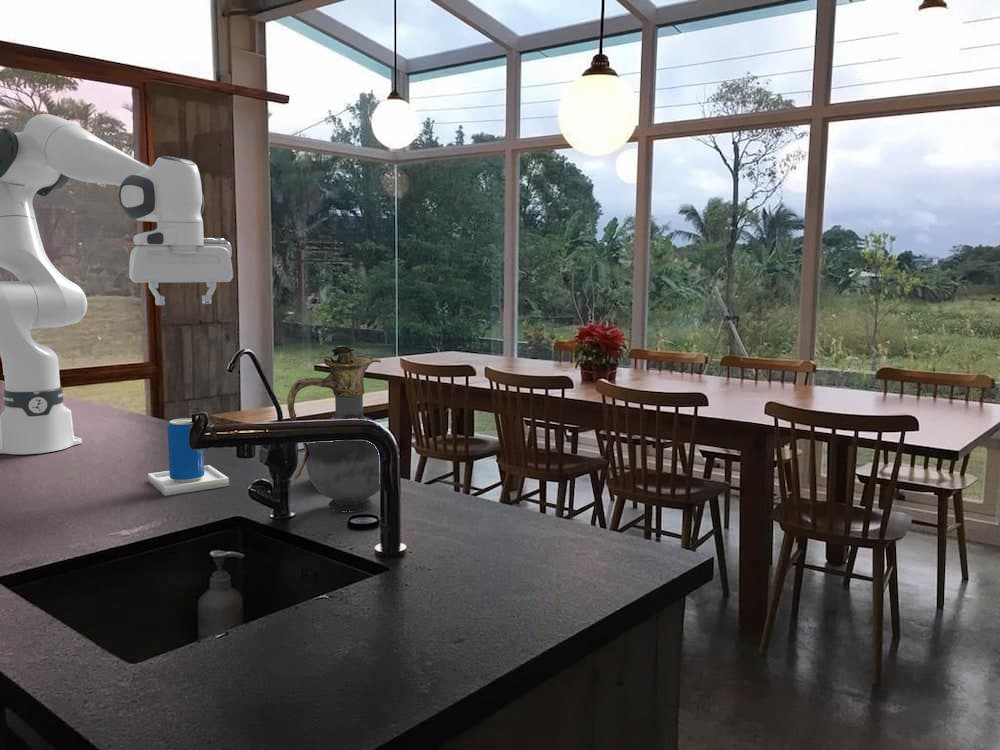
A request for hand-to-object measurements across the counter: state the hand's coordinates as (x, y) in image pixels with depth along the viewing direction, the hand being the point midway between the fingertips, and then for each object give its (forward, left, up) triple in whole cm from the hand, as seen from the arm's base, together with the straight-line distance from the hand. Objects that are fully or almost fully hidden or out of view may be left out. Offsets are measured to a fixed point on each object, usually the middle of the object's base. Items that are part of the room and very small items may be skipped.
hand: (183, 304), depth 169 cm
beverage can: (+12, -4, -34) cm, 37 cm away
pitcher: (+44, +14, -35) cm, 58 cm away
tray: (+12, -4, -35) cm, 37 cm away
